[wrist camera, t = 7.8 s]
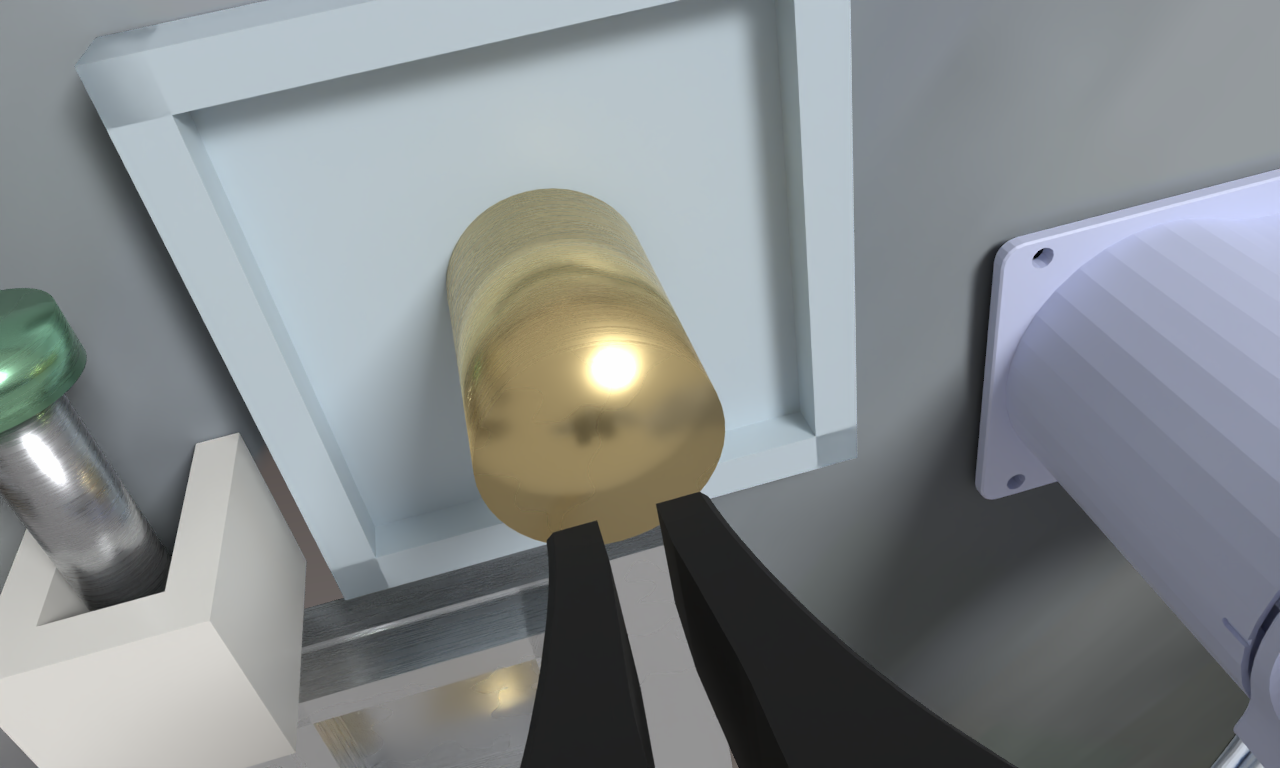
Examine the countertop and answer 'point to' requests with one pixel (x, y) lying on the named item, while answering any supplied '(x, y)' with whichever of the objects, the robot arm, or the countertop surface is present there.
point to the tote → (463, 189)
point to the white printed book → (1237, 756)
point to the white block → (166, 641)
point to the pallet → (483, 668)
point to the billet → (575, 370)
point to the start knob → (66, 463)
